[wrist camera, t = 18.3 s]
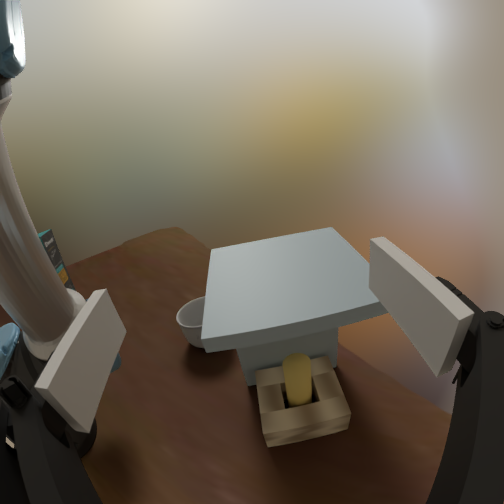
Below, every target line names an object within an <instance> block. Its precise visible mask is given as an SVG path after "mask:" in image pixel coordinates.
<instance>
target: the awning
mask: <svg viewBox="0 0 504 504" xmlns="http://www.w3.org/2000/svg"><path fill="white" fill-rule="evenodd" d="M369 267H370V264H369V263H368V262H367V261H366V260H365V259H364V258H363V257H362V256H361V255H360V254H359V253H358V252H357V251H356V250H355V249H354V248H353V247H352V246H351V245H350V244H349V243H348V242H347V241H346V240H345V239H344V238H342V237H341V236H340V235H339V234H338V233H337V232H336V231H335V230H334V229H333V228H332V227H329V228H324V229H318V230H313V231H307V232H302V233H296V234H291V235H286V236H280V237H275V238H270V239H264V240H259V241H254V242H249V243H243V244H238V245H233V246H227V247H222V248H217V249H212V250H211V257H210V264H209V272H208V280H207V288H206V297H205V306H204V315H203V324H202V334H201V341H202V343H203V346H204V348H205V351H206V353H209V352H216V351H223V350H230V349H236V350H237V353H238V357H239V360H240V363H241V366H242V370H243V373H244V376H245V379H246V383H247V386H251V385H257V384H256V376H255V371H257V370H263V369H268V368H274V367H279V366H283V365H282V363H283V360H284V359H285V358H286V357H287V356H288V355H290V354H293V353H303V354H305V355H307V356H308V357H309V358H310V360H311V359H315V358H319V357H323V356H327V355H328V357H329V359H330V362H331V364H332V367H333V368H335V367H336V365H337V347H338V327H340V326H344V325H348V324H352V323H355V322H359V321H362V320H366V319H369V318H373V317H376V316H379V315H383V314H386V313H389V312H388V311H387V310H386V309H385V307H384V306H383V305H382V304H381V302H380V301H379V300H378V299H377V297H376V296H375V295H374V294H373V292H372V291H371V290H370V289H369Z"/></svg>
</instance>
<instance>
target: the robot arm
mask: <svg viewBox="0 0 504 504" xmlns="http://www.w3.org/2000/svg"><path fill="white" fill-rule="evenodd" d="M25 61H26V57H25V39H24V29H23V21H22V12H21V4H20V0H0V304H1V305H2V307H3V308H4V309H5V310H6V312H7V313H8V314H9V315H10V316H11V317H12V319H13V320H14V321H15V322H16V323H17V324H18V325H19V327H20V328H21V329H22V330H23V331H22V332H20V329H19V327H18V326H16V325H15V324H14V323H8V324H6V325H4V326H2V327H1V328H0V504H103V503H102V501H101V500H100V498H99V496H98V494H97V492H96V491H95V489H94V487H93V485H92V483H91V481H90V479H89V477H88V475H87V473H86V471H85V469H84V466H83V464H82V462H81V460H80V458H81V457H82V456H83V455H85V454H86V453H87V451H88V450H89V449H90V447H91V446H92V444H93V442H94V439H95V436H96V430H97V426H96V420H95V414H96V410H97V408H98V405H99V402H100V399H101V396H102V393H103V390H104V387H105V385H106V382H107V379H108V377H109V374H110V373H112V372H113V371H115V370H117V369H118V368H119V367H120V365H121V358H120V355H119V353H118V351H119V348H120V346H121V344H122V341H123V339H124V336H125V334H126V332H127V331H126V329H125V327H124V325H123V323H122V321H121V319H120V317H119V315H118V313H117V311H116V309H115V307H114V305H113V303H112V301H111V298H110V296H109V294H108V292H107V290H106V289H102V290H96V291H94V292H93V294H92V295H91V296H90V298H89V299H87V300H85V299H84V298H83V297H82V295H80V294H79V293H78V292H76V291H74V290H72V289H69V288H65V286H64V284H63V283H62V281H61V279H60V277H59V276H58V274H57V272H56V270H55V268H54V266H53V265H52V263H51V261H50V259H49V257H48V255H47V253H46V251H45V249H44V247H43V245H42V243H41V241H40V239H39V236H38V234H37V232H36V230H35V228H34V225H33V223H32V221H31V218H30V216H29V213H28V211H27V208H26V206H25V204H24V201H23V198H22V195H21V193H20V190H19V187H18V184H17V181H16V178H15V175H14V172H13V168H12V165H11V162H10V158H9V155H8V151H7V147H6V143H5V139H4V134H3V130H2V125H1V119H2V116H3V114H4V111H5V110H6V108H7V106H8V104H9V102H10V100H11V98H12V91H11V81H10V79H11V78H15V76H17V75H18V74H19V73H21V72H22V71H23V69H24V67H25ZM369 289H370V290H371V291H372V292H373V294H374V295H375V296H376V297H377V299H378V300H379V301H380V302H381V304H382V305H383V306H384V307H385V309H386V310H387V311H388V312H389V314H390V315H391V316H392V317H393V319H394V320H395V321H396V323H397V324H398V325H399V326H400V328H401V329H402V330H403V332H404V333H405V334H406V336H407V337H408V338H409V340H410V341H411V342H412V344H413V345H414V346H415V348H416V349H417V350H418V352H419V353H420V355H421V356H422V357H423V359H424V360H425V362H426V363H427V364H428V366H429V367H430V368H431V370H432V371H433V373H434V374H435V376H436V377H439V376H441V375H443V374H444V373H447V372H448V371H450V370H451V369H452V368H453V365H454V363H455V361H456V359H457V360H458V361H459V363H460V364H461V365H460V367H459V369H458V371H457V373H456V375H455V377H454V379H453V382H452V383H453V384H454V383H455V381H456V380H457V388H456V395H455V402H454V408H453V413H452V418H451V423H450V428H449V433H448V437H447V441H446V445H445V449H444V453H443V456H442V460H441V463H440V466H439V469H438V472H437V475H436V478H435V481H434V484H433V487H432V489H431V492H430V495H429V497H428V500H427V502H426V504H503V501H504V316H503V315H502V314H500V313H498V312H495V311H487V312H485V313H484V312H483V311H482V310H481V309H479V308H478V307H477V306H476V305H475V304H474V303H473V302H472V301H471V300H469V298H467V297H466V296H465V295H463V294H462V292H461V291H459V290H458V289H456V287H455V286H454V285H453V284H451V283H450V282H449V281H447V280H445V279H443V278H441V277H434V276H433V275H431V274H430V273H429V272H428V271H427V270H425V269H424V268H423V267H422V266H421V265H419V264H418V263H417V262H416V261H414V260H413V259H412V258H411V257H409V256H408V255H407V254H406V253H404V252H403V251H402V250H400V249H399V248H398V247H397V246H395V245H394V244H393V243H391V242H390V241H388V240H387V239H386V238H385V237H378V238H373V239H370V267H369ZM6 437H7V438H8V439H9V440H10V441H12V442H13V443H14V448H12V447H11V446H9V445H8V444H7V443H6Z"/></svg>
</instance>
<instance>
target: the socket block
mask: <svg viewBox="0 0 504 504" xmlns="http://www.w3.org/2000/svg"><path fill="white" fill-rule="evenodd" d="M255 376H256V384H257V392H258V400H259V408H260V415H261V423H262V430H263V435H264V438H265V441H266V444H267V447H273V446H279V445H284V444H290V443H295V442H299V441H304V440H308V439H313V438H317V437H321V436H325V435H328V434H332V433H335V432H339V431H342V430H346V429H348V426H349V422H350V417H351V411H350V409H349V406H348V404H347V401H346V399H345V396H344V394H343V391H342V389H341V386H340V384H339V381H338V379H337V376H336V374H335V371H334V369H333V367H332V364H331V362H330V359H329V357H328V355H327V356H323V357H319V358H315V359H311V385H312V394H313V397H314V400H315V403H311V404H307V405H302V406H298V407H293V408H289V409H285V406H284V401H283V400H287V392H286V385H285V378H284V372H283V366H279V367H274V368H268V369H263V370H257V371H255Z"/></svg>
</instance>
